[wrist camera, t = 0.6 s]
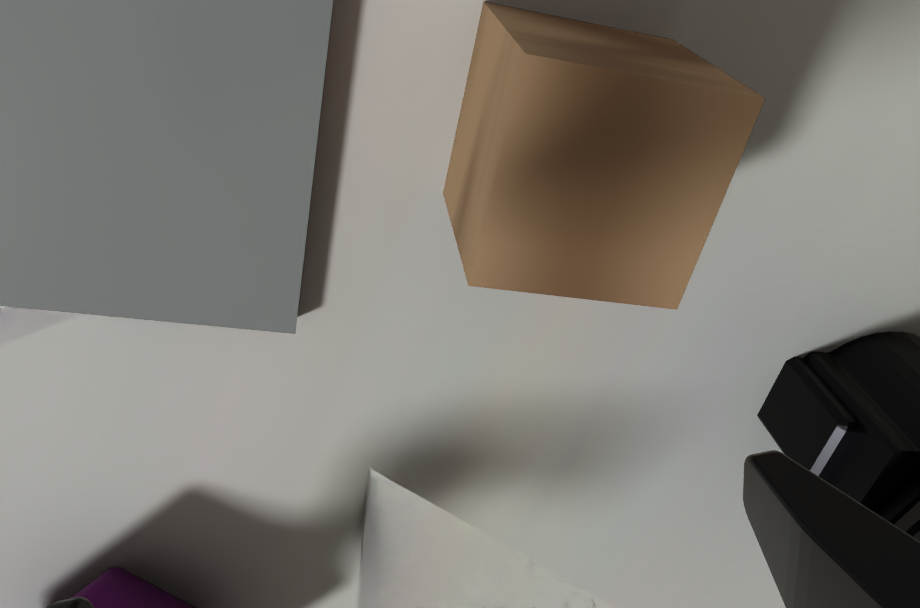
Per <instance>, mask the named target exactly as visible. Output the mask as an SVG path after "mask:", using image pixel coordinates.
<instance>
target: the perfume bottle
mask: <svg viewBox="0 0 920 608" xmlns="http://www.w3.org/2000/svg"><path fill="white" fill-rule="evenodd" d="M76 597H84V598H86V599H88V600H89V601H90V603H91V604H92V605H93V607H94V608H194V607H192V606H191V605H189V604H187V603H185V602H183V601H181V600H179V599H178V598H176V597H174V596H172V595H170V594H168V593H166V592H165V591H163V590H161V589H159V588H157V587H155V586H153V585H151V584H150V583H148V582H146V581H144V580H142V579H140V578H138V577H137V576H135V575H133V574H131V573H129V572H127V571H125V570H123V569H122V568H118V567H112V568H109V569H108V570H107V571H105V572H104V573H102V574H101V575H100V576H98V577H97V578H96V579H94V580H93V581H92V582H90V583H89V584H87V585H86V586H85V587H83V588H82V589H81V590H79V591H78V592H77V593H75V594H74V595H72V596H71V597H70V598H68V599H71V598H76Z"/></svg>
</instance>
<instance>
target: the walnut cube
mask: <svg viewBox="0 0 920 608" xmlns="http://www.w3.org/2000/svg"><path fill="white" fill-rule="evenodd" d="M764 101H765V98H764V97H762V96H760V95H759V94H757V93H756V92H754V91H753V90H751V89H749V88H748V87H746V86H745V85H743V84H742V83H740V82H739V81H737V80H735V79H734V78H732V77H731V76H729V75H728V74H726V73H724V72H723V71H721V70H720V69H718V68H717V67H715V66H713V65H712V64H710V63H709V62H707V61H706V60H704V59H702V58H701V57H699V56H698V55H696V54H695V53H693V52H691V51H690V50H688V49H687V48H685V47H684V46H682V45H681V44H679V43H677V42H676V41H674V40H671V39H666V38H661V37H656V36H651V35H646V34H641V33H636V32H631V31H626V30H621V29H616V28H611V27H606V26H601V25H596V24H591V23H586V22H581V21H576V20H571V19H566V18H561V17H556V16H552V15H547V14H542V13H537V12H532V11H527V10H522V9H517V8H512V7H507V6H502V5H497V4H492V3H487V2H483V7H482V12H481V16H480V21H479V26H478V30H477V35H476V40H475V45H474V49H473V54H472V59H471V64H470V68H469V73H468V78H467V83H466V87H465V92H464V97H463V101H462V106H461V111H460V116H459V120H458V125H457V130H456V135H455V139H454V144H453V149H452V154H451V158H450V163H449V168H448V173H447V177H446V182H445V187H444V191H443V195H444V198H445V202H446V206H447V209H448V213H449V217H450V220H451V224H452V227H453V231H454V235H455V238H456V242H457V246H458V249H459V253H460V257H461V260H462V264H463V268H464V271H465V275H466V278H467V282H468V286H476V287H484V288H493V289H502V290H511V291H519V292H528V293H537V294H546V295H555V296H563V297H572V298H581V299H590V300H598V301H607V302H616V303H625V304H633V305H642V306H651V307H660V308H668V309H677V308H678V306H679V303H680V301H681V299H682V296H683V294H684V291H685V289H686V287H687V284H688V282H689V280H690V277H691V275H692V272H693V270H694V268H695V265H696V263H697V261H698V258H699V256H700V253H701V251H702V249H703V246H704V244H705V241H706V239H707V237H708V234H709V232H710V230H711V227H712V225H713V222H714V220H715V218H716V215H717V213H718V210H719V208H720V206H721V203H722V201H723V199H724V196H725V194H726V191H727V189H728V187H729V184H730V182H731V179H732V177H733V175H734V172H735V170H736V168H737V165H738V163H739V160H740V158H741V156H742V153H743V151H744V149H745V146H746V144H747V141H748V139H749V137H750V134H751V132H752V129H753V127H754V125H755V122H756V120H757V118H758V115H759V113H760V110H761V108H762V106H763V103H764Z"/></svg>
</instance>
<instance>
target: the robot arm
mask: <svg viewBox="0 0 920 608" xmlns="http://www.w3.org/2000/svg"><path fill="white" fill-rule="evenodd" d="M758 417H759V419H760V421H761V422H762V423H763V425H764V426H765V428H766V429H767V430H768V432H769V433H770V435H771V436H772V438H773V439H774V440H775V442H776V443H777V445H778V446H779V448H780V449H781V450H782V452H783V453H784V454H783V453H781V452H779V451H775V450H772V451H766V452H762V453H757V454H752V455H749V456H748V457H747V458H746V460H745V463H744V485H743V502H744V507H745V510H746V514H747V516H748V519H749V521H750V523H751V526H752V528H753V530H754V533H755V535H756V538H757V540H758V542H759V545H760V547H761V549H762V552H763V554H764V557H765V559H766V561H767V564H768V566H769V568H770V571H771V573H772V576H773V578H774V580H775V583H776V585H777V587H778V590H779V592H780V595H781V597H782V599H783V602H784V604H785V606H786V608H920V337H919V336H917V335H915V334H910V333H906V332H882V333H875V334H871V335H867V336H864V337H860V338H858V339H855V340H853V341H851V342H848V343H846V344H844V345H842V346H841V347H839V348H837V349H835V350H833V351H831V352H828V353H824V352H811V353H809V354H807V355H806V356H805V357H804V358H799V357H793V358H791V359H789V360H787V361H786V362H785V364H784V366H783V368H782V370H781V372H780V374H779V375H778V377H777V379H776V381H775V383H774V385H773V387H772V389H771V390H770V392H769V394H768V396H767V398H766V400H765V402H764V404H763V406H762V407H761V409H760V411H759V413H758ZM47 608H94V607H93V605H92V604H91V603H90V601H89V600H88V599H86V598H84V597H76V598H71V599H66V600H61V601H57V602H54V603H52V604H51V605H49V606H48V607H47Z"/></svg>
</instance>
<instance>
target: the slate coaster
mask: <svg viewBox="0 0 920 608" xmlns="http://www.w3.org/2000/svg"><path fill="white" fill-rule="evenodd" d="M332 6H333V0H0V306H8V307H18V308H29V309H39V310H50V311H60V312H71V313H82V314H92V315H103V316H113V317H124V318H134V319H145V320H155V321H166V322H176V323H187V324H197V325H208V326H219V327H229V328H240V329H250V330H261V331H271V332H282V333H292V334H295V332H296V323H297V314H298V305H299V297H300V288H301V279H302V270H303V261H304V253H305V244H306V235H307V226H308V217H309V209H310V200H311V191H312V182H313V173H314V165H315V156H316V147H317V138H318V130H319V121H320V112H321V103H322V94H323V86H324V77H325V68H326V59H327V50H328V42H329V33H330V24H331V15H332Z"/></svg>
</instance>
